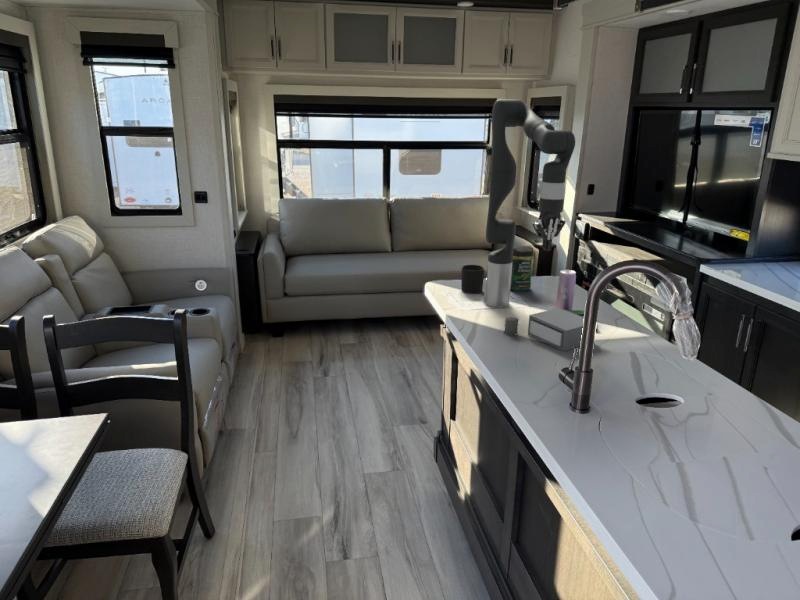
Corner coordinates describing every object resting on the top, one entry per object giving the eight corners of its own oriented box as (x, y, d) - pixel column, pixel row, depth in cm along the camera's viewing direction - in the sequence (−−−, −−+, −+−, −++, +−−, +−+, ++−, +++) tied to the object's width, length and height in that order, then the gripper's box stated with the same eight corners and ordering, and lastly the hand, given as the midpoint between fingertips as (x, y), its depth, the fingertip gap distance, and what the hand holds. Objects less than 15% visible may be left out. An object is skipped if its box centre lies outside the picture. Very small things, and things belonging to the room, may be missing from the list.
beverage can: (573, 308, 214) (578, 271, 209) (569, 313, 209) (573, 274, 204) (558, 305, 217) (562, 268, 212) (553, 310, 212) (557, 272, 207)
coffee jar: (511, 292, 233) (514, 248, 227) (504, 286, 240) (507, 244, 234) (533, 291, 234) (537, 248, 228) (526, 285, 242) (529, 243, 236)
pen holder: (487, 290, 234) (489, 267, 231) (474, 295, 228) (475, 272, 224) (469, 286, 240) (470, 263, 237) (455, 290, 234) (457, 267, 230)
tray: (529, 332, 187) (530, 320, 186) (556, 325, 194) (558, 313, 193) (559, 346, 177) (560, 333, 175) (587, 338, 183) (588, 326, 182)
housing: (527, 334, 189) (529, 315, 187) (556, 326, 196) (558, 307, 194) (563, 351, 176) (566, 330, 174) (593, 342, 184) (596, 322, 181)
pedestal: (501, 331, 191) (502, 318, 189) (511, 329, 193) (512, 315, 192) (510, 336, 188) (511, 322, 186) (520, 333, 190) (521, 319, 188)
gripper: (545, 199, 169) (540, 255, 175) (575, 196, 176) (569, 250, 181) (528, 196, 175) (523, 250, 181) (557, 193, 182) (552, 245, 187)
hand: (546, 250), depth 181 cm, fingers closed
